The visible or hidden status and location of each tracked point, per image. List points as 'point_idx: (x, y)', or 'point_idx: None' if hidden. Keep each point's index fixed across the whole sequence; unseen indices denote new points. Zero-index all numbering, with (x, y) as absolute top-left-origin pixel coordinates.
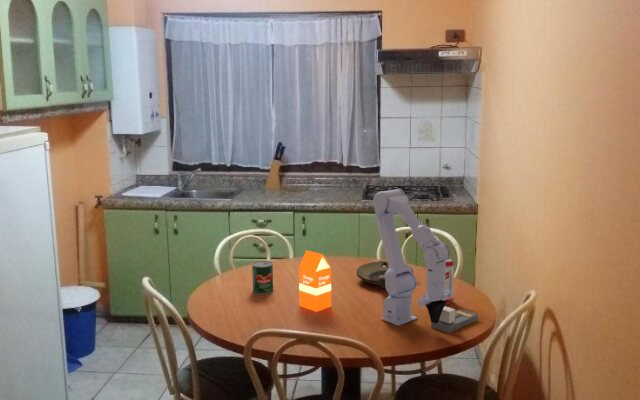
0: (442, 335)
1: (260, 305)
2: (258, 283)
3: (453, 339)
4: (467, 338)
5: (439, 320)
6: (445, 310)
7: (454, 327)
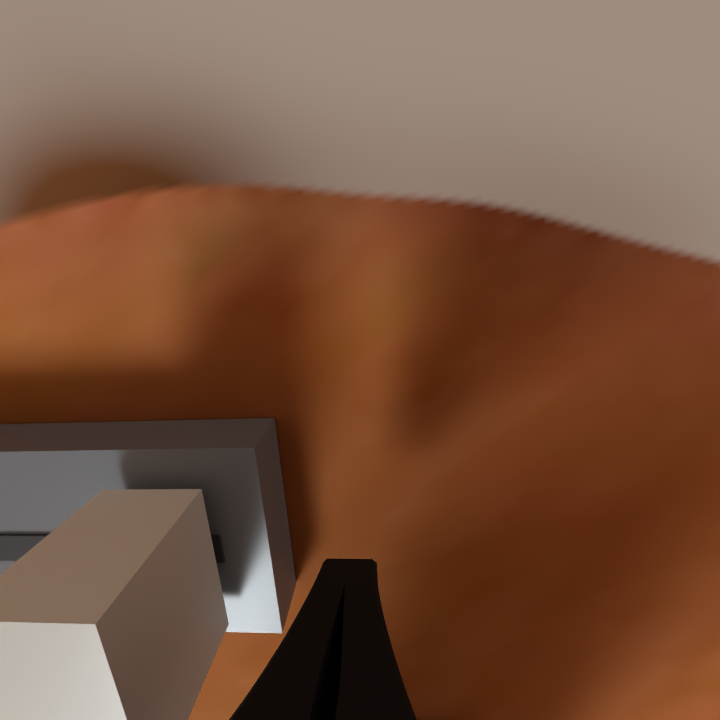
0: (358, 421)
1: None
2: None
3: (350, 293)
4: (215, 213)
5: None
6: (114, 687)
7: (171, 433)
